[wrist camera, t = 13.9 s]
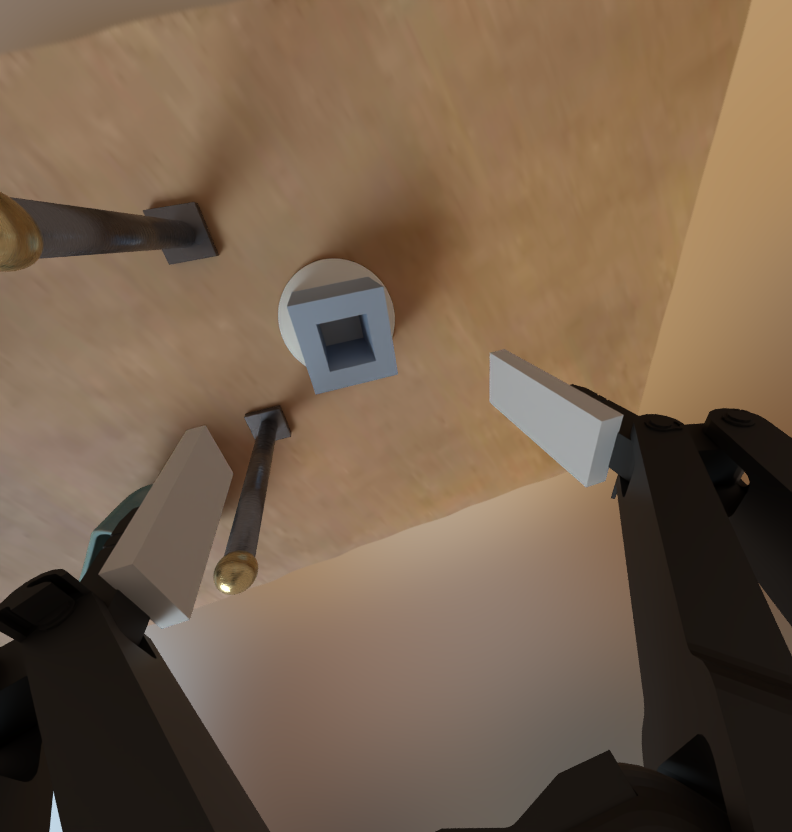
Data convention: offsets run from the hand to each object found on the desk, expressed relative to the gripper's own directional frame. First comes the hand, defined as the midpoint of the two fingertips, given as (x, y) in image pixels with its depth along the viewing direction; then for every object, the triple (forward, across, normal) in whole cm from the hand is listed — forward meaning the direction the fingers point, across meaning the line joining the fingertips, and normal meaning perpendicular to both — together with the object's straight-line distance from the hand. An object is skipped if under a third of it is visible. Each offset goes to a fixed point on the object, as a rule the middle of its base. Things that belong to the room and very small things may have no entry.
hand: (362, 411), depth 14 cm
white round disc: (+19, +1, 0) cm, 19 cm away
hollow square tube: (+18, +1, 0) cm, 18 cm away
